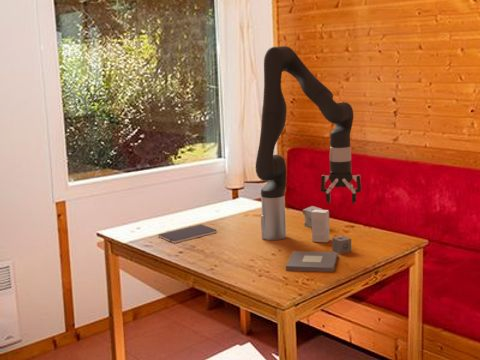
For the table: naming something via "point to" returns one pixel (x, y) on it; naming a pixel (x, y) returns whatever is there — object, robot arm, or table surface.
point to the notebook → (187, 233)
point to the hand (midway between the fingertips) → (341, 203)
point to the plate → (312, 261)
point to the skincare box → (320, 225)
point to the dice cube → (341, 244)
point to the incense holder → (309, 215)
